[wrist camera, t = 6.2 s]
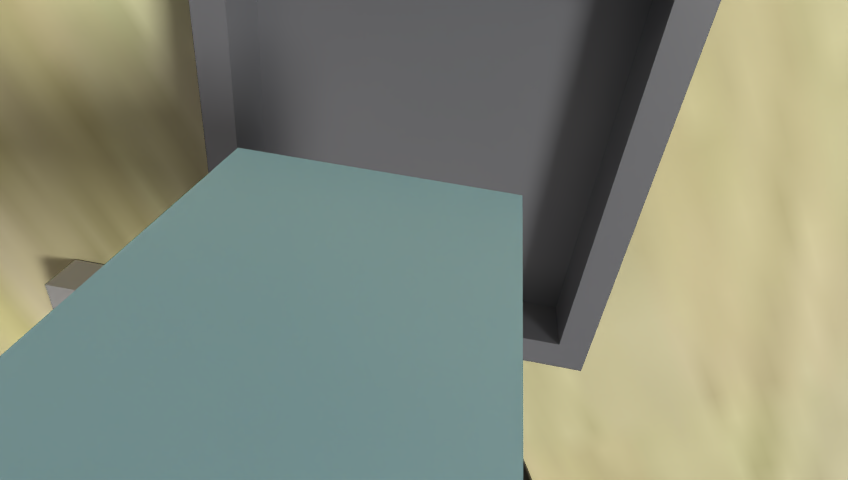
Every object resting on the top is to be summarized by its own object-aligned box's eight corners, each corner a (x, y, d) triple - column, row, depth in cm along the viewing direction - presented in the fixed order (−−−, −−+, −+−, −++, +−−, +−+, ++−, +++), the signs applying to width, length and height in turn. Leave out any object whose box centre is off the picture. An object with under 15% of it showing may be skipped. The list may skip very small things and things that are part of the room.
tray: (704, -54, 14) (737, -44, 12) (574, 322, 21) (580, 370, 19) (224, -118, 15) (174, -121, 13) (252, 263, 22) (223, 304, 20)
